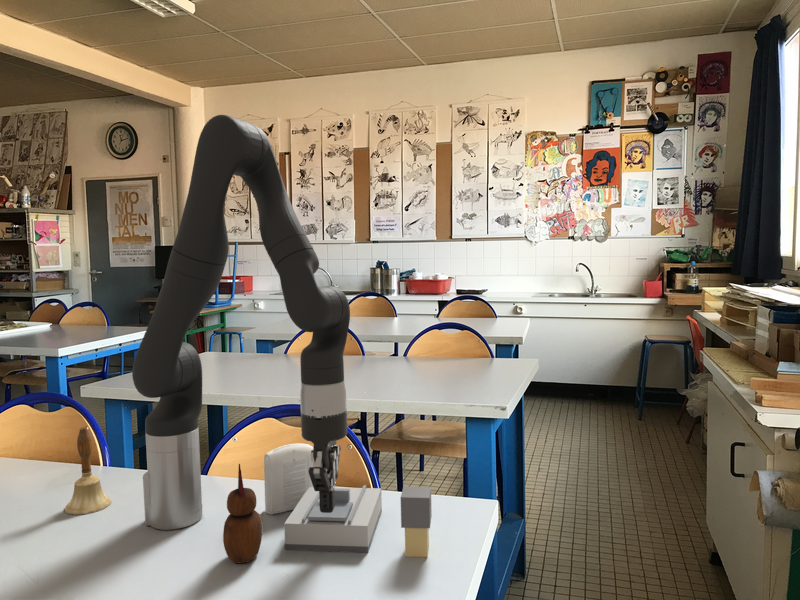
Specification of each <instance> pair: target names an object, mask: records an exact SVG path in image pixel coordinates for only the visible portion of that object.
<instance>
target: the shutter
mask: <svg viewBox="0 0 800 600" xmlns="http://www.w3.org/2000/svg"><path fill="white" fill-rule="evenodd" d="M334 499H335V508H334V510H333V511H332V512H331V513H322V512H321V511H320V501H317V502H316V504H315V506H314V507H313V509H312V511H311V512H310V514H309V516H308V520H315V521H346V519H347V517H348V515H349V513H350V511H351V508H352V506H353V502H349V501H350V489H337V488H334Z"/></svg>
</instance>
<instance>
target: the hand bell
mask: <svg viewBox="0 0 800 600" xmlns="http://www.w3.org/2000/svg"><path fill="white" fill-rule="evenodd" d="M78 432H79V433H78V435H77V440H76V446H77V451H78V455H79V456H80V461H81V477H79V478H77V479H76V480H75V482H74V486H73V493H72V497H71V499H70V501H69V502H68V503H67V504H66V505H65V508H64V512H65V513H66V514H68V515H72V514H73V516H74V515H75V516H77V515H78V516H79V515H82V514H83V515H88V514H89V513H90V514H93V513H97V512H100V511H102V510H104V509H107V507H110V505H111V504H112V499H111V498H110V497H109V496H107V495H106V494H105V492H104V491H103V488H102V485H101V479H100V478H99V476H95V475H93V473H92V466H91V455H92V450H93V441H92V437H91V436H92V435H91V434H90V432H89V430H88V427H86V426H85V427H80V428H79V431H78Z"/></svg>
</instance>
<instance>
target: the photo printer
mask: <svg viewBox="0 0 800 600" xmlns="http://www.w3.org/2000/svg"><path fill="white" fill-rule="evenodd" d="M313 447H314V445H313V446H312V445H311V444H307V443H301V442H300V443H289V444H285V445H281V446H279V447H276V448H273V449H272V450H270V451H268V452H266V453H265V454H264V457H263V464H264V465H263V472H264V474H263V475H264V476H263V477H264V505H265V506H264V507H265V509H264V510H265V512H266V514H269V515H275V514H276V515H277V514H281V513H285V512H289V511H293V510H294V509H295V507H296V506H297V504H298V503H299V501H300V500H301V498H302V497H303V495H304V494H305V492H306V491H307V489H308V488H309V487H313V484H312V481H311V478H310V476H309V472H308V471H309V468H310V467H313V462H312V461H311V451H312V450H313Z"/></svg>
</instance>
